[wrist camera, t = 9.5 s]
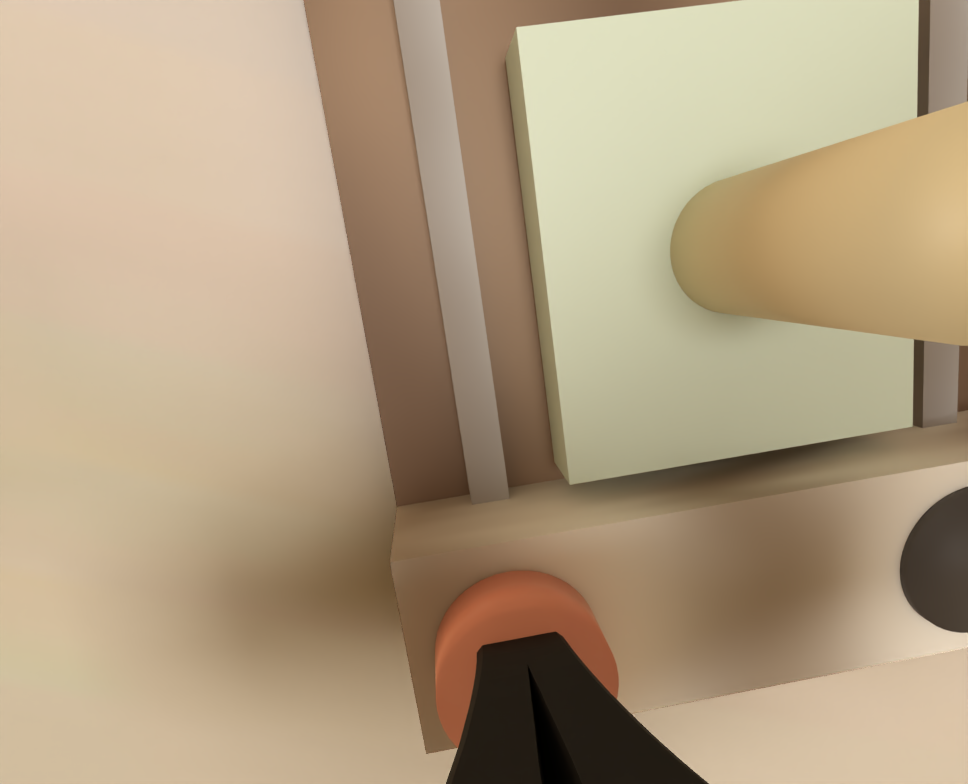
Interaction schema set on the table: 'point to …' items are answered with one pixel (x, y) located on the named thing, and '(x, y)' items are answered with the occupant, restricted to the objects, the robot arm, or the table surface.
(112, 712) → the table surface
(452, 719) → the button
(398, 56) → the rail
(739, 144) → the carriage
